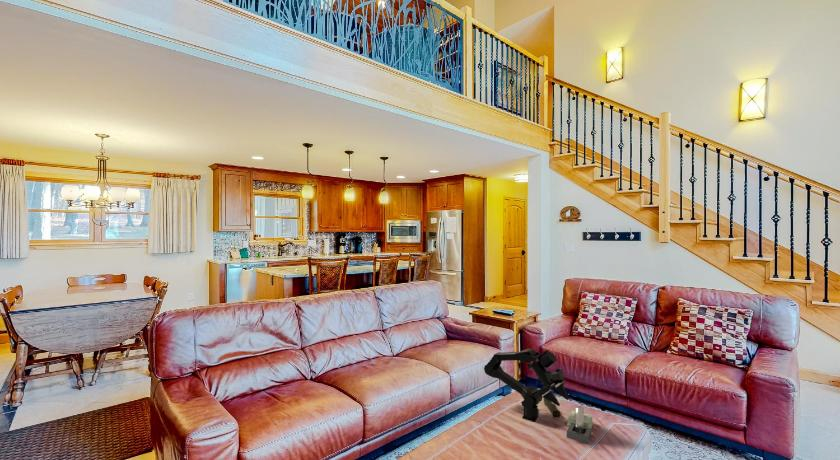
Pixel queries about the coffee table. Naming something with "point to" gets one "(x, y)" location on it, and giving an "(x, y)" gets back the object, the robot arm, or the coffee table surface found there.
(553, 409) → the hand tool
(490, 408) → the coffee table surface
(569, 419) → the container
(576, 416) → the grey cylinder
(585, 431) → the socket
